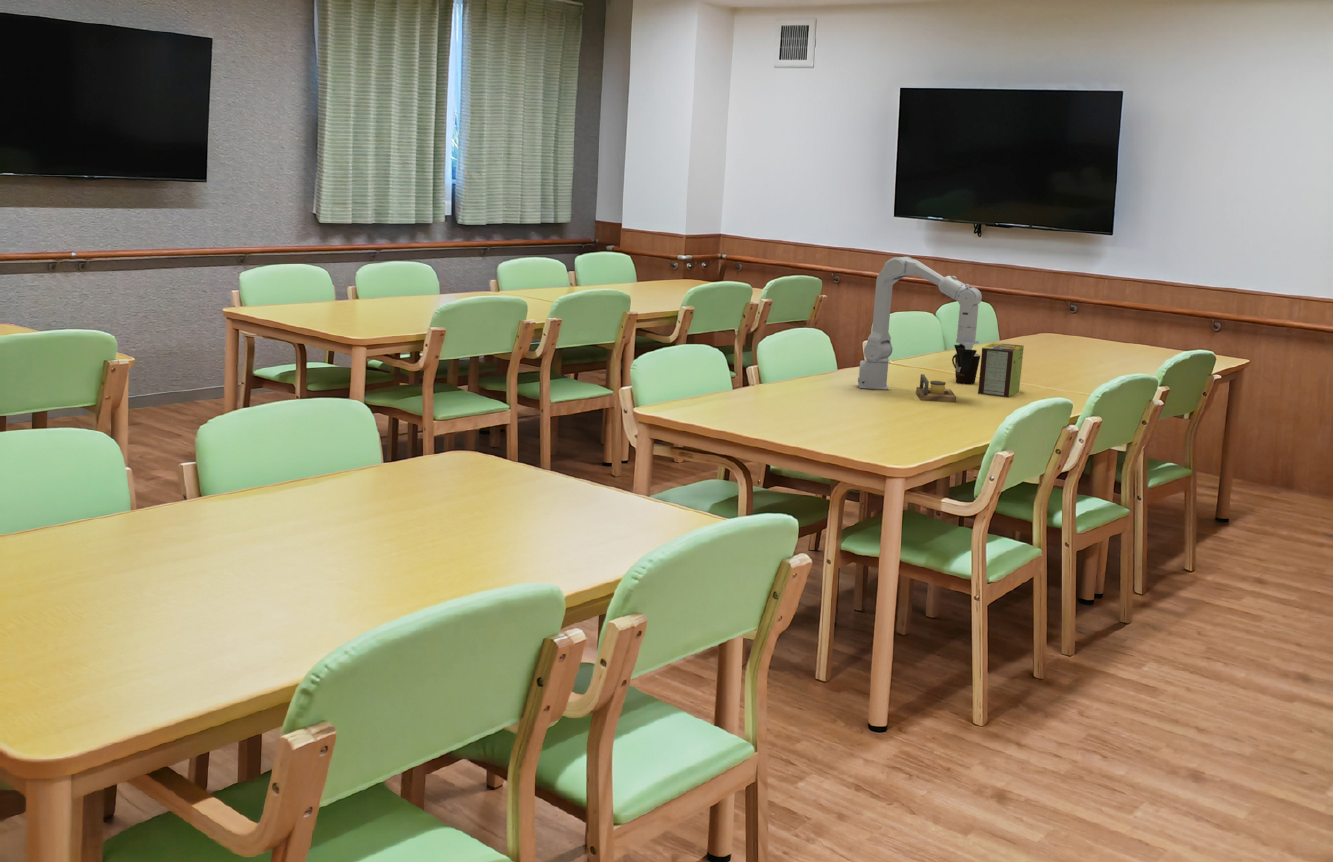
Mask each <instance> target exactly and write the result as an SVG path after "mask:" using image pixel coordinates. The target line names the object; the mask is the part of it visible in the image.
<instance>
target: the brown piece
mask: <svg viewBox="0 0 1333 862" xmlns="http://www.w3.org/2000/svg"><path fill="white" fill-rule="evenodd" d="M929 384H930V381H929V380H928V378H927V377H926V375H925V374H923V373H922V374H920V381H919V386H917V387H916V389H915V392H916V394H917V396H918V398H919V400H920V401H929V402H945V403H947V402H949V403H957V398H958V397H957V396H956V395H955V393H954V391H953V390H952V389H951V388H944V394H930V388H931V387H929Z"/></svg>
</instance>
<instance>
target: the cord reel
mask: <svg viewBox="0 0 1333 862" xmlns="http://www.w3.org/2000/svg"><path fill="white" fill-rule="evenodd" d="M929 384H930V387H929V388H930V394H944V389H946V388H945V385H947V384H946V382H945V381H943V380H930V381H929Z"/></svg>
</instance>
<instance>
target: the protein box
mask: <svg viewBox="0 0 1333 862" xmlns="http://www.w3.org/2000/svg"><path fill="white" fill-rule="evenodd" d="M1024 347H1025V346H1024V345H1019V344H1011V343H1000V342H992V343H989V344H987V345H985V346H983V347H982V348H981V356H980V369H979V379H978V389H977V390H978V392H977V394H979V393H981V395H987V396H997V397H1004V398H1010V397H1011V396H1012V395H1014V394H1016V393H1018V392H1019V391H1020V386H1021V376H1022V368H1023V367H1022V366H1023V357H1024Z"/></svg>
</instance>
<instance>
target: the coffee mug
mask: <svg viewBox="0 0 1333 862" xmlns="http://www.w3.org/2000/svg"><path fill="white" fill-rule="evenodd" d="M981 356H982V354H979V353H977V352H976V353H975V355H974V357H973V359H972V362H971V365H970V368H969V371H962V370H961V367H958V361H957V353H956V352H954V355H953V356H952V358H951V361H952V365H953V368H954V369H955V371H954V372H955V373H954V374H955V383H956V384H960V385H974V384H976V383H975V382H976V379H977V373H978V369H979V364H980V361H981Z"/></svg>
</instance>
